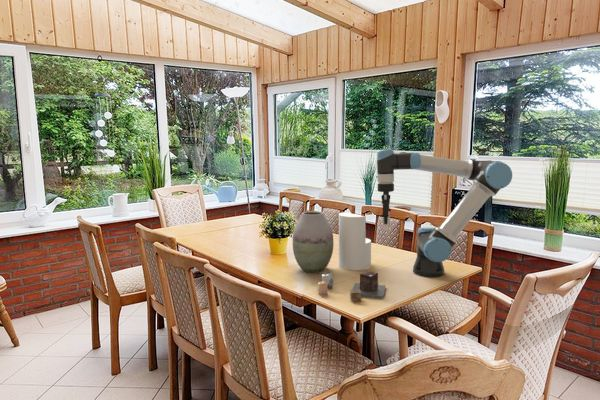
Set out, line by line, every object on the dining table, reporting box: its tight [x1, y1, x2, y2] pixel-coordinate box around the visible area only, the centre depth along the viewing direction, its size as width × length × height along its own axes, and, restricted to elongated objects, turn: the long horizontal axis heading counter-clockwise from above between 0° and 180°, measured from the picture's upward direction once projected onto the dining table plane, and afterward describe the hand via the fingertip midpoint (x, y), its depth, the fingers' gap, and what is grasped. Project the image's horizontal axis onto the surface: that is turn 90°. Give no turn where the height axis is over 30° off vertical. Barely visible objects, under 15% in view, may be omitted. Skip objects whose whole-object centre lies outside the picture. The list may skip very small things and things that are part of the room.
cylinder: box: [338, 211, 372, 271], centre depth 225 cm, size 17×17×28 cm
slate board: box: [351, 282, 387, 300], centre depth 187 cm, size 14×14×1 cm
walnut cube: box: [349, 288, 362, 303], centre depth 177 cm, size 4×4×4 cm
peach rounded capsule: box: [317, 280, 328, 296], centre depth 185 cm, size 4×4×5 cm
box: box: [359, 270, 379, 292], centre depth 186 cm, size 6×6×7 cm
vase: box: [292, 210, 335, 274], centre depth 219 cm, size 21×21×30 cm
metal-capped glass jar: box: [321, 272, 334, 290], centre depth 194 cm, size 5×5×6 cm
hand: (386, 227), depth 199 cm, fingers open, 13 cm apart
